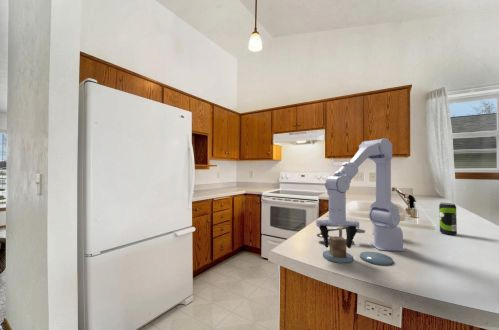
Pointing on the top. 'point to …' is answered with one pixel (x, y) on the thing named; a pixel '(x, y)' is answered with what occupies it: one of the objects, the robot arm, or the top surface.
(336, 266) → the top surface
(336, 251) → the walnut block
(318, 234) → the balance
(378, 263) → the dish
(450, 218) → the beverage can
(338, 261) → the dish
